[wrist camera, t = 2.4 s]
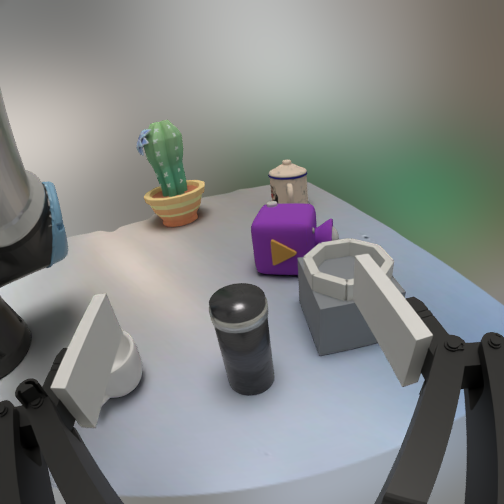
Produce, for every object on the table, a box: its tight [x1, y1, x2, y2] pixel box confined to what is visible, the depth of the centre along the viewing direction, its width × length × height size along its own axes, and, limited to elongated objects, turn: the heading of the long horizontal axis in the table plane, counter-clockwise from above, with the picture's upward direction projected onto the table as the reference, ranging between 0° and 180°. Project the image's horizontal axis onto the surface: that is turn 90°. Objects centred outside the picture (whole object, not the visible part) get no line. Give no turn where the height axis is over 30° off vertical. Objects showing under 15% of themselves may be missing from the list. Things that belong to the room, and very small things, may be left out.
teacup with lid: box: [268, 160, 308, 204], centre depth 74 cm, size 12×9×12 cm
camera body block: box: [297, 238, 406, 356], centre depth 38 cm, size 10×11×9 cm
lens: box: [209, 283, 274, 395], centre depth 31 cm, size 5×5×11 cm
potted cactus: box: [137, 120, 204, 227], centre depth 73 cm, size 15×15×25 cm
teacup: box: [102, 330, 142, 405], centre depth 32 cm, size 10×8×5 cm
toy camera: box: [251, 201, 339, 275], centre depth 52 cm, size 11×14×10 cm
